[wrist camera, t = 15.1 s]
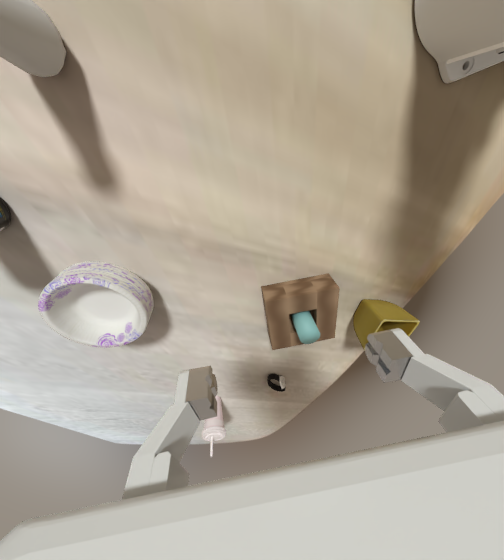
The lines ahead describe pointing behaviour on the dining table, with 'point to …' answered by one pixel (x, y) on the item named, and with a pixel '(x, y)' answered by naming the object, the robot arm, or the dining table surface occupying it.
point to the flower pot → (381, 319)
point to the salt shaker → (30, 38)
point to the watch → (279, 378)
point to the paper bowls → (97, 304)
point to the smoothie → (214, 426)
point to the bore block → (300, 308)
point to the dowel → (305, 327)
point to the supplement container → (4, 215)
